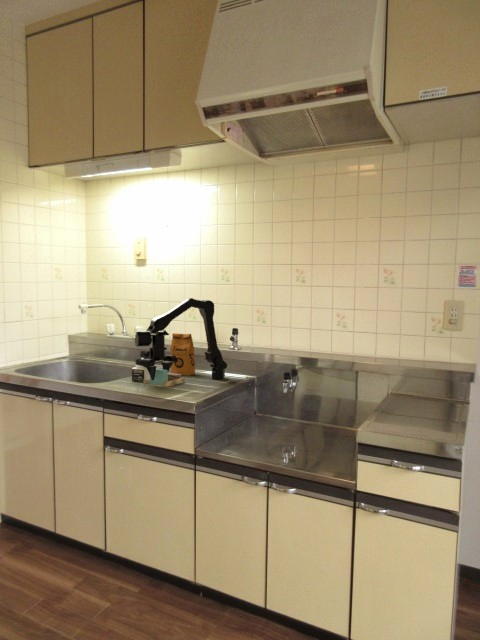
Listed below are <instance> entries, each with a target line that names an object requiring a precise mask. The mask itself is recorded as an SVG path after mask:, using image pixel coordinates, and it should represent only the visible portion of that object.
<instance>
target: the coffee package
mask: <svg viewBox="0 0 480 640" xmlns="http://www.w3.org/2000/svg"><path fill="white" fill-rule="evenodd" d="M171 336H172V339H171V343H170V348H169V351H170V354H169V355H175V356H176V357H177V361H175V362H174V364H172V366H171V368H170V373H175V374H181V376H184V377H185V376H187V377H188V376H193V375H196V355H195V348H194V347H195V346H194V340H193V337H192V336H193V335H192V334H191V333H177V332H176V333H172V335H171Z"/></svg>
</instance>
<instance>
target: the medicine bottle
mask: <svg viewBox="0 0 480 640" xmlns="http://www.w3.org/2000/svg"><path fill="white" fill-rule="evenodd" d="M141 359H144V358H141V356H139V357H137V358H135V367H132V368H131V381H133V382H139V383H144V380H145V379H149V378H150V374H149V372H148V370H147V368H146V367H143V366H140V360H141Z"/></svg>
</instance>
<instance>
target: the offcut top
mask: <svg viewBox="0 0 480 640" xmlns="http://www.w3.org/2000/svg"><path fill="white" fill-rule="evenodd" d="M168 378H170V379H179V378H182V375H181V374H175V373H171V372H168Z"/></svg>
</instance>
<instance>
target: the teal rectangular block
mask: <svg viewBox="0 0 480 640" xmlns="http://www.w3.org/2000/svg"><path fill="white" fill-rule="evenodd" d="M168 373H169V372H168V370H164V369H163V368H157V367H156V373H155V378H154V380H151V377H150V384H154V385H161V386H163V383H164V382H168Z"/></svg>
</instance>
